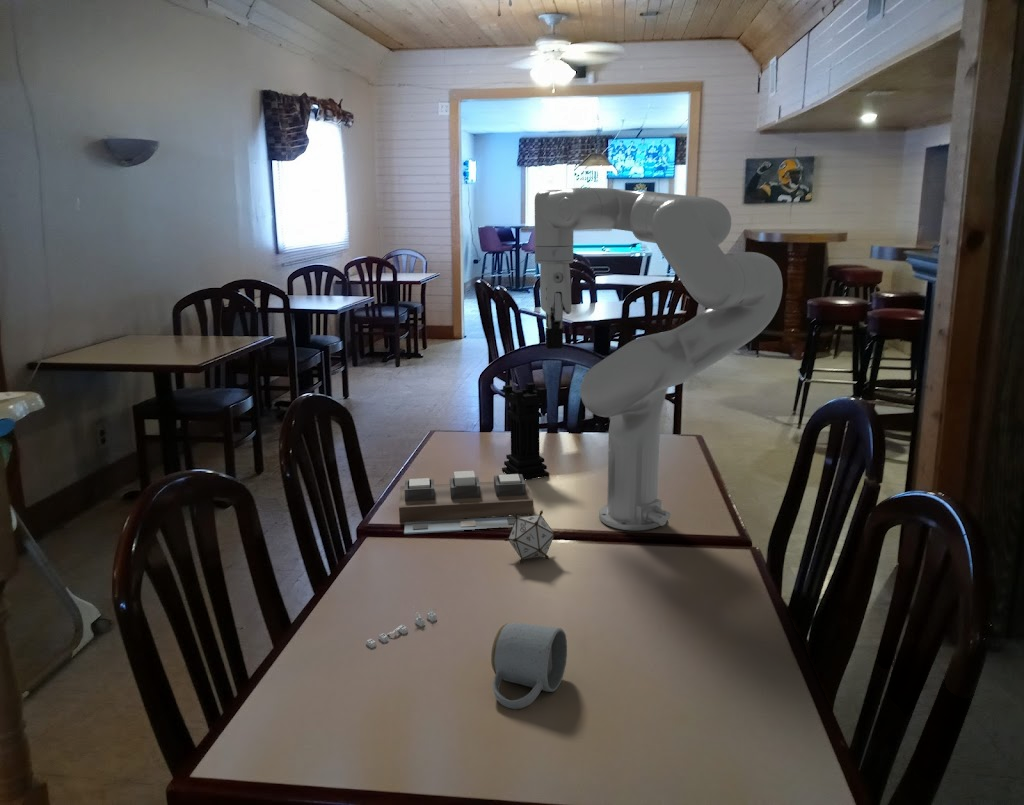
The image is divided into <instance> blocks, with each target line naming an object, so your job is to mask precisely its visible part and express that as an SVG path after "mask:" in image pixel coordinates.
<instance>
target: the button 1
mask: <svg viewBox="0 0 1024 805" xmlns="http://www.w3.org/2000/svg"><path fill="white" fill-rule="evenodd" d="M429 479H430V478H429V477H425V478H424V477H423V478H409V479H408V480H409V489H412V488H430V480H429Z"/></svg>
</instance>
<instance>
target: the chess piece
mask: <svg viewBox="0 0 1024 805" xmlns="http://www.w3.org/2000/svg"><path fill="white" fill-rule="evenodd" d="M502 392H504V393H505V397H504V398H505V399H504V400H505V401H506V402H508V403H509V405H510V407H509V410H507V414H508V415H509V417H510V454H505V455H506V457H505V458H506V460H504V461H503V465H504V467H501V472H502V471H503V473H504V472H505V473H506V474H505V473H504V474H505V475H507V474H522V476H523V478H524V480H525V479H530V480H533V479H532V478H536V479H539V478H538V477H541V478H545V477H544V476H547V477H550V472H548V470H547V469H548V466H547V464H545V458H544V457H542V456H540V454H541V453H540V418H542V416H543V415H542V414H543V413H542V412H540V404H545V395H547V394H548V393H547V388H545V387H537V388H536V384H535V383H533V382H527V383H525V388H524V389H523V388H522V389H516V390H515V389H514V390H513V386H512V385H509V384H508V385H503V386H502ZM505 466H506V467H505Z"/></svg>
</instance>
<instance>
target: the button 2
mask: <svg viewBox="0 0 1024 805" xmlns="http://www.w3.org/2000/svg"><path fill="white" fill-rule="evenodd" d="M512 483H520V478H519V475H518V474H499V484H512Z"/></svg>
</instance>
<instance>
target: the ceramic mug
mask: <svg viewBox="0 0 1024 805" xmlns="http://www.w3.org/2000/svg"><path fill="white" fill-rule="evenodd" d="M567 643H568V640H567V634H566V633H565V631H564V629H562V627H558V626H544V625H537V624H527V623H523V622H510V623H509V622H508V623H505V624H504V625H503V624H502V626H500V628H499V629H498V630H497V632H496V635H495V636H494V639H493V643H492V647H491V654H490V655H491V656H490V657H491V658H490V660H491V667H492V670H493V672H494V678H493V681H492V689H493V694H494V696H495V699H496V700H497V702H498V703H499V704H500V705H501V706H504V707H505V708H508V709H511V710H519V709H520V710H521V709H523V708H525V707H527V706H529V705H531V704H532V703H533V702H535V701H536V700H537V698H538V696H539V695H540V693H541V691H544V692H549V693H553V692H555V691H556V690H557V689H558V688H559V686H560V684H561V682H562V680H563V678H564V673H565V671H566V665H567V659H568V658H567V657H568V644H567ZM502 680H504V681H507V682H509V683H513V684H519V685H522V686H526V687H529V688H532V689H531V690H530V692H528V693H527V694H526V695H524V696H523V697H520V698H518V699H513V700H511V699H507V697H506V696H505V695H502V694H501V693H500V692H499V687H500V684H501V683H500V682H502Z"/></svg>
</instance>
